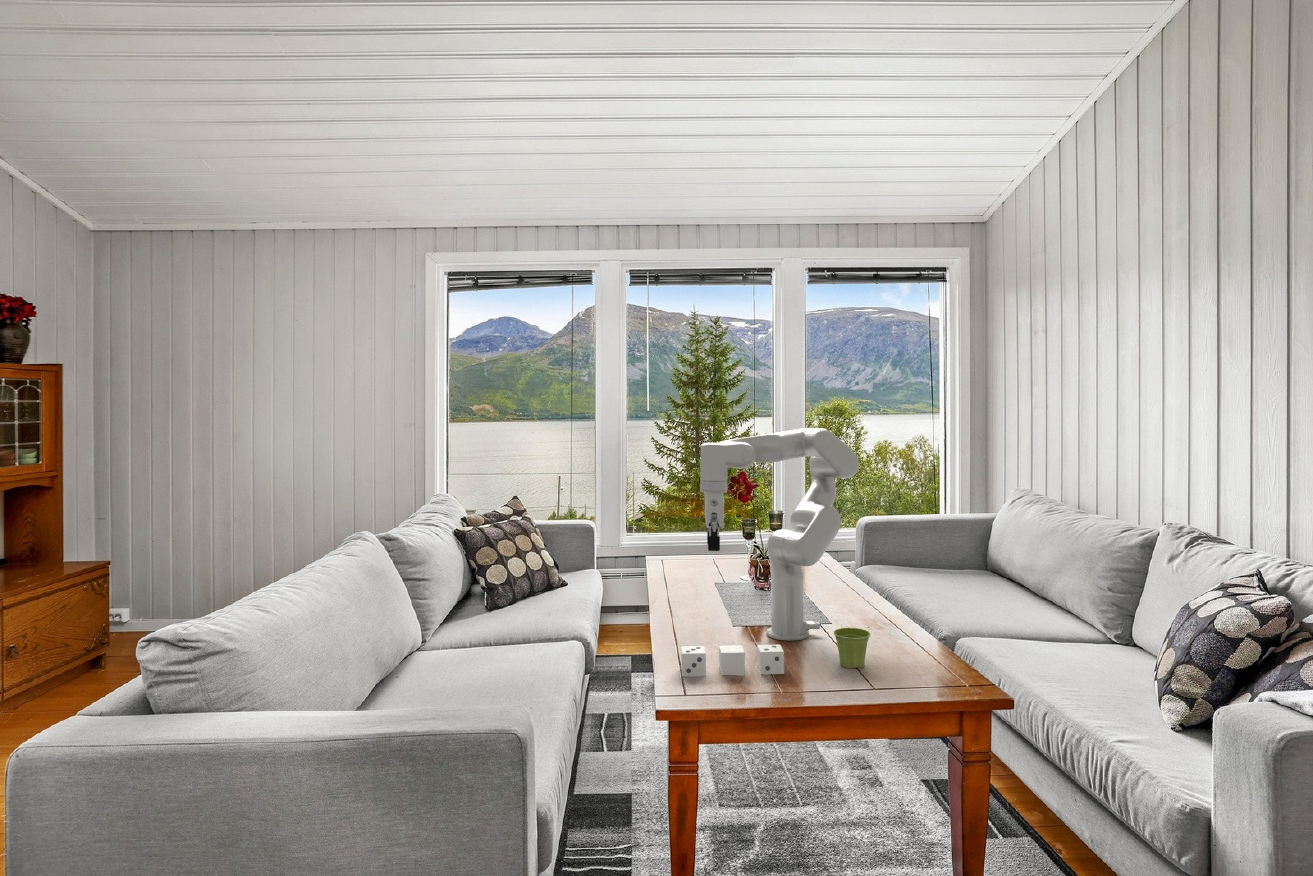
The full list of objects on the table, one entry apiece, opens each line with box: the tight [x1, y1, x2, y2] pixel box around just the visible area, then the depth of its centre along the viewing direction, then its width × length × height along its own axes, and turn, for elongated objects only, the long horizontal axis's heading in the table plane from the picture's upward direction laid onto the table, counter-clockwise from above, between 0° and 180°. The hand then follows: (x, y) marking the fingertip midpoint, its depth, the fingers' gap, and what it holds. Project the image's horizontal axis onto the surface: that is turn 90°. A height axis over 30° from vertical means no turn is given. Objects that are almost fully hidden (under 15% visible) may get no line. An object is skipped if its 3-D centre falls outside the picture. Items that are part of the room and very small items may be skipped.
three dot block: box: [680, 645, 707, 677], centre depth 201 cm, size 6×6×6 cm
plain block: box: [718, 644, 746, 676], centre depth 202 cm, size 6×6×6 cm
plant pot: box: [833, 627, 871, 669], centre depth 205 cm, size 9×9×9 cm
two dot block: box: [756, 644, 785, 675], centre depth 202 cm, size 6×6×6 cm
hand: (713, 547), depth 218 cm, fingers open, 9 cm apart
